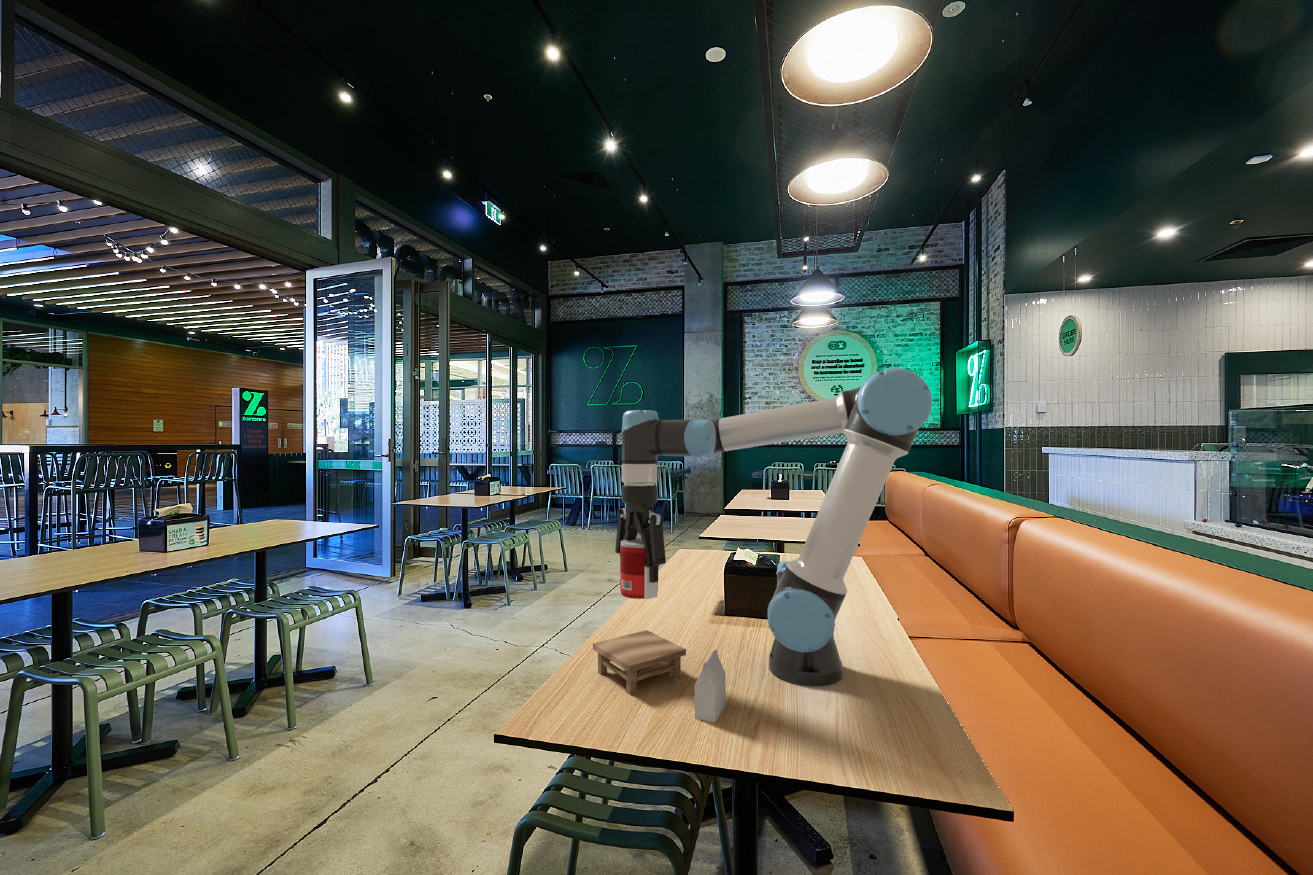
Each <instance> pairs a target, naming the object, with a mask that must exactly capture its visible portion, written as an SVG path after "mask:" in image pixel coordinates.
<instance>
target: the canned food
mask: <svg viewBox="0 0 1313 875" xmlns="http://www.w3.org/2000/svg"><path fill="white" fill-rule="evenodd" d="M619 558H620V560H619V570H620V571H619V573H620V574H619V578H620V579H619V580H620V581H619V589H620V594H621V596H623V597H624V598H627V599H633V600H635V599H637V600H640V599H641V600H644V599H645V598H644V593H645V564H647V560H646V556H645V547H644V545H643V543H642V538H641V537H640V538H639V537H638V538H637V537H636V539H635V540H622V541H621V544H620V554H619ZM658 591H659V585H658V586H657V593H658ZM645 600H646V599H645Z"/></svg>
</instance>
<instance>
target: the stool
mask: <svg viewBox="0 0 1313 875" xmlns="http://www.w3.org/2000/svg"><path fill="white" fill-rule="evenodd" d="M592 650H593V651H595V652H596V653H597V673H598V674H600V675H605V674H607V673H608V669H609V670H610V671H612V672H614V673H615V674H616V675H618V676H620V678H622V679H624V680H625V681H626V688H625V689H626V693H627V694H628V695H634V694H637V682H638V681H641V680H644V679H648V678H650V677H654V676H657V675H660V674H663V673H664V674H665V673H667V672H670V678H671V679H673V680H675V681H676V680H679V679H681V678H682V677H681V672H682V671H681V667H682V666H681V664H682V662H681V658H682V657H684V656H686V655H687V649H686V648H684V647H682V646H680V645H678V644H676V643H674V642H672V641H670V640H668V639H666V638H663V637H662V636H660V635H658V634H656V633H653V632H652V631H651V630H650V631H649V630H648V629H645V630H641V631H638V632H635V633H630V634H625V635H622V636H618V637H614V638H613V637H612V638H610V639H606V640H602V641H601V640H600V641H598V642H593V643H592ZM663 663H664V664H666V665H664V666H660V667H657V668H655V669H651V670H647V671H644V672H642V673H641V672H640V673H638V674H637V671H638V670H642V669H645V668H649V667H652V666H656V665H659V664H663ZM615 664H616V665H615ZM618 666H619V667H618ZM623 669H624V670H625V671H624V670H623Z"/></svg>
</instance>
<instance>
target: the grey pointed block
mask: <svg viewBox="0 0 1313 875" xmlns="http://www.w3.org/2000/svg"><path fill="white" fill-rule="evenodd" d="M726 676H727V675H726V671H725V669H724V666H723V664H722V662H721V659H720V657H719V655H718V650H717V649H714V650H713V651H712V652H711V654H709V656H708V657H707V658H706V660H704V662H703V665H702V668H701V671H700V674H699V676H698V678H697V680H696V682H695V683H694V720H698V721H699V720H700V721H704V722H707V723H708V722H709V723H713V724H716V722H717V721H718V718H719V717H720V715H721V714H722V712H723V710H724V709H725V707H726V705H727V704H726V702H727V701H726V696H727V695H726V693H727V692H726V687H727V686H726V685H727V684H726V682H727V681H726V678H727V677H726Z"/></svg>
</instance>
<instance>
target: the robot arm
mask: <svg viewBox="0 0 1313 875" xmlns="http://www.w3.org/2000/svg"><path fill="white" fill-rule="evenodd" d="M932 406H933V396H932V392H931V389H930V387H929V386H928V384H927V382H926V381H925V380H924V378H922V377H921V376H920V375H918V374H917V373H915V372H914V371H911V370H909V369H905V368H901V367H898V368H896V367H894V368H893V367H892V368H886V369H881V370H878V371H876V372H875V373H874V374H871V375H870V376H869V377H868V378H866V380H864V382H863V383H862V384H861V386H859V387H856V388H853V389H849V390H843V391H840V392H839V393H838V394H837V396H835V397H831V398H827V399H821V400H816V401H815V400H814V401H809V402H803V403H799V404H793V405H788V406H781V407H777V408H771V409H764V410H760V411H755V412H749V413H744V414H738V415H733V416H727V417H726V416H725V417H721V418H713V419H701V418H693V419H692V418H690V419H660V418H659V416H658V415H659V413H658V412H657V411H656V410H649V409H648V410H646V409H637V410H636V409H634V410H626V411H625V412H624V413H623V416H622V424H621V425H622V427H621V430H620V431H621V432H620V433H621V482H622V483H624V484H622V486H621V501H622V503H624V504H626V506H625V507H623V508H617V528H616V530H617V531H616V541H615V549H614V551H615V553H616V554H619V555H620V544H621V541H622V540H635V539H636V538H637V537H638V534H639V535H640V538H642V543H643V545H644V547H645V556H646V560H647V564H645V593H644V598H645V600H650V599H654V598H658V592H657V586H658V587H659V566H660V565H665V564H666V562H667V561H666V559H667V558H666V549H665V538H664V528H663V524H664V515H663V514H661V513H660V514H659V513H658V514H657V513H655V509H654V505H655V503H657V502H658V486H657V485H656V484H655V483H657V482H658V462H659V461H658V460H659V458H658V456H660V457H665V456H666V457H667V456H668V457H693V458H700V457H709V456H712V455H713V454H716V453H717V454H719V453H723V452H728V451H735V450H742V449H749V448H754V447H759V446H760V447H761V446H768V445H773V444H778V443H779V444H781V443H786V442H792V441H794V442H795V441H800V440H806V439H812V438H813V439H814V438H817V437H818V438H819V437H824V436H832V435H837V434H843V435H845V436H846V439H847V444H846V446H845V448H844V451H843V453H842V456H841V457H840V460H839V463H838V465H837V467H836V470H835V472H834V474H833V477H832V479H831V482H830V484H829V486H828V489H827V491H826V493H825V496H824V498H823V500H822V503H821V505H820V507H819V510H818V511H817V513H816V514H817V515H816V516H815V519H814V521H813V524H812V526H811V528H810V531H809V533H808V534H807V535H808V536H807V538H806V540H805V543H804V545H803V547H802V549H801V552H800V554H799V557H798V558H795V559H793V560H784V561H780V562H779V563H778V564H777V567H776V568H777V570H776V573H775V574H776V577H777V578H776V581H777V582H776V583H777V584H776V589H775V591H774V594H773V596H772V598H771V600H770V601H769V603H768V605H767V606H768V607H767V610H766V611H767V624H768V626H769V629H770V632H771V634H772V635H773V637H774V640H773V643H772V646H771V649H770V652H769V655H768V669H769V671H770V673H772V674H773V675H774V676H775V677H777V678H779V679H781V680H783V681H786V682H789V683H792V684H795V685H796V684H797V685H802V686H810V687H821V686H829V685H833V684H836V683H838V682H839V681H841V680H842V678H843V673H844V671H843V666H844V665H843V662H842V660H841V657H840V654H839V653H840V652H839V650H838V646H837V643H836V640H835V636H834V632H835V626H836V619H837V616H838V614H839V612H840V609H841V606H842V605H843V603H844V600H845V598H846V595H847V594H848V589H847V586H846V583H845V581H844V577H845V575H846V574H847V573H846V572H847V571H848V568H849V566H850V564H851V562H852V560H853V557H854V555H855V553H856V550H857V548H858V546H859V544H860V541H861V539H862V536H863V534H864V532H865V530H866V527H867V525H868V522H869V520H870V518H871V516H872V514H873V511H874V509H875V507H876V504H877V502H878V500H879V498H880V495H881V494H882V491H883V488H884V486H885V485H886V483H887V482H886V481H887V480H888V477H889V475H890V473H891V470H892V468H893V466H894V463H895V461H896V460H898V458H901V457H904V456H907V455H908V454H909V452H910V450H911V447H912V446H913V444H914V441H915V439H916V436H917V434H918V432H919V429H920V428H921V427H922V426H923V425H924V424H925V422H926V421H927V420H928V418H929V417H930V414H931V412H932Z"/></svg>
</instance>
